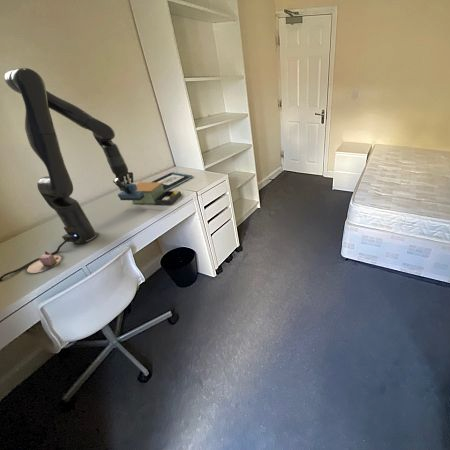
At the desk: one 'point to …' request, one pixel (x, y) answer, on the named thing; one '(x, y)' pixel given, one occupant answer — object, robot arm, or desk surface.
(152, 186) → the cabinet
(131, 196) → the brush
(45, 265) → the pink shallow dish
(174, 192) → the scrap yellow
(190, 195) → the desk surface
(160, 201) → the tray
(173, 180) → the sketchbook
